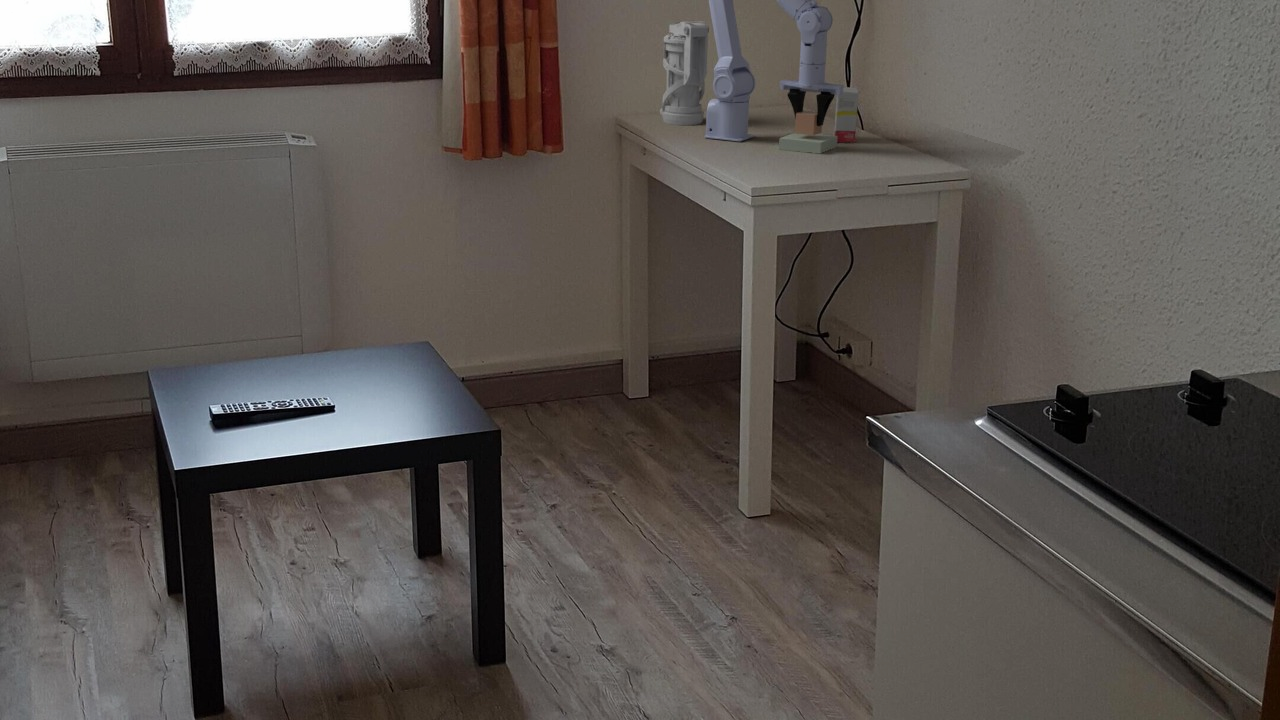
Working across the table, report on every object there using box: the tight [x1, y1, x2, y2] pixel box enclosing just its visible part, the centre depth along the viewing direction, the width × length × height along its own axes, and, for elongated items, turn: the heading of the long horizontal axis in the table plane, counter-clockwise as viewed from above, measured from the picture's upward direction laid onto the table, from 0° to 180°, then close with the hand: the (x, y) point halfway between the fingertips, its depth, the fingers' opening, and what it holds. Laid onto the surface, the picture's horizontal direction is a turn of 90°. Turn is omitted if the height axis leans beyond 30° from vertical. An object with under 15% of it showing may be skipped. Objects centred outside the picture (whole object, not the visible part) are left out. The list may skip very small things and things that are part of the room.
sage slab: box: [778, 132, 838, 154], centre depth 308 cm, size 10×10×2 cm
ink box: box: [833, 86, 859, 144], centre depth 317 cm, size 9×5×12 cm, turn 173°
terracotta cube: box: [794, 110, 823, 135], centre depth 306 cm, size 4×4×4 cm
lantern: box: [659, 20, 710, 126], centre depth 335 cm, size 13×10×25 cm
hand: (809, 124), depth 306 cm, fingers closed on terracotta cube, 4 cm apart
